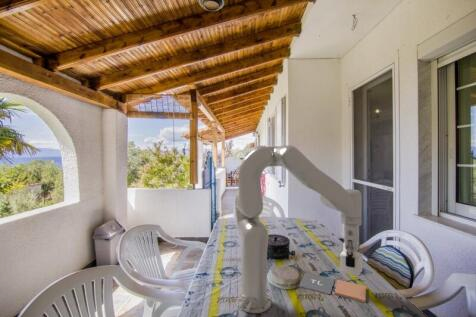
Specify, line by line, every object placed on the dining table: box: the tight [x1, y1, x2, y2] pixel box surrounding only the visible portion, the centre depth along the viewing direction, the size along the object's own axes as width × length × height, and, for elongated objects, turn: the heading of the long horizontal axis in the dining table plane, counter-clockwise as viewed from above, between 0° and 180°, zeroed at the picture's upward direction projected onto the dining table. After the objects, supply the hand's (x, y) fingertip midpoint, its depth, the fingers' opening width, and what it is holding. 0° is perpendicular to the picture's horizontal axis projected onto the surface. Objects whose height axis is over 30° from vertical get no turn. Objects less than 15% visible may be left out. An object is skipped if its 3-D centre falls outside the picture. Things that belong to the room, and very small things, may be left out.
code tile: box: [298, 272, 335, 296], centre depth 106 cm, size 13×13×1 cm
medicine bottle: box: [339, 241, 364, 277], centre depth 100 cm, size 7×7×12 cm
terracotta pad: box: [334, 279, 367, 303], centre depth 100 cm, size 11×11×1 cm
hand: (351, 262), depth 100 cm, fingers closed on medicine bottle, 7 cm apart
